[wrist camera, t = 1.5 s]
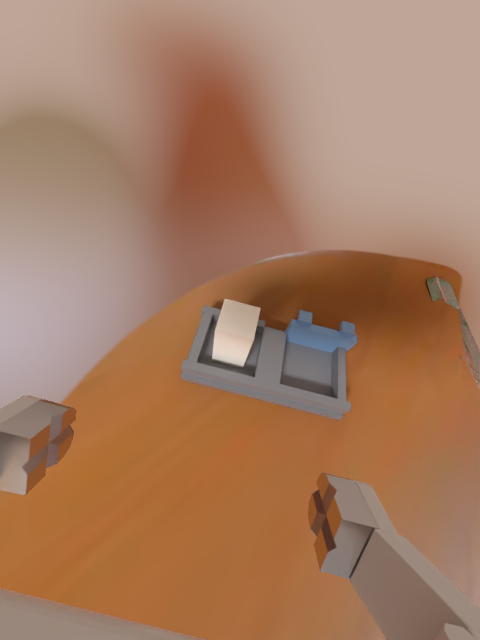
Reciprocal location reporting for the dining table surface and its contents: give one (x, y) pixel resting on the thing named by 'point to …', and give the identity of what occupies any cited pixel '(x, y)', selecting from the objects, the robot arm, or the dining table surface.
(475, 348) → the map
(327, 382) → the two-compartment grey tray
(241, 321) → the white rectangular block
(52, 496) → the dining table surface
